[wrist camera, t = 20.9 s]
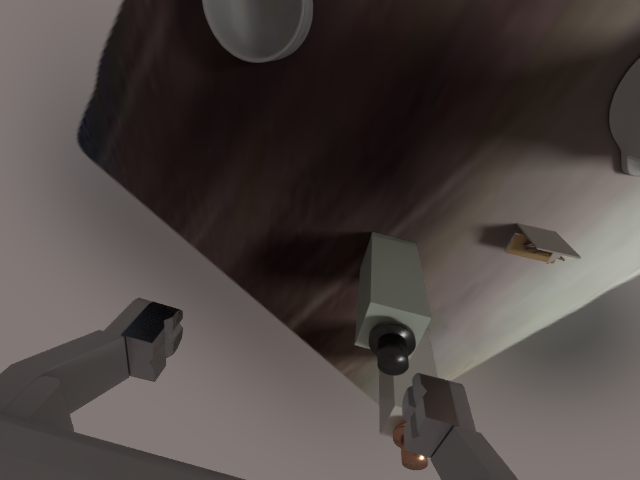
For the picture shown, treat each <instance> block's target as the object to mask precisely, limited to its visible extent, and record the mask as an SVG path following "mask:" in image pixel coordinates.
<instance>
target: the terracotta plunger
mask: <svg viewBox="0 0 640 480" xmlns="http://www.w3.org/2000/svg"><path fill="white" fill-rule="evenodd" d="M406 424H407V423H401V424H399V425H397V426H396V427H395V428H394V429H393V441H394V443H395V444H396V445H397V446H398V447H400V448H401V456H402V464H403V466H404V467H406V468H408V469H411V470H422V469H424V468H426V467H427V465H428V462H427V457H426V456H422V455H419V454H416V453H413V452H409V451H406V450H405V445H404V432H403V429H404V428H405V426H406Z"/></svg>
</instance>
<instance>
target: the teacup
mask: <svg viewBox="0 0 640 480" xmlns="http://www.w3.org/2000/svg"><path fill="white" fill-rule="evenodd" d="M202 3H203V9H204V13H205V16H206V19H207V22H208V24H209V27H210V29H211V30H212V32H213V34H214V36H215V37H216V39H217V40H218V41H219V43H220V44H221V45H222V46H223V47H224V48H225V49H226V50H227V51H228V52H229V53H231V54H232V55H234V56H235V57H237V58H239V59H241V60H243V61H247V62H254V63H262V62H268V61H274V60H279V59H282V58H285V57H287V56H289V55H290V54H292V53H293V52H294V51H296V50H297V49H298V48H299V47H300V45H301V44H302V43H303V42H304V40H305V38H306V36H307V34H308V32H309V30H310V27H311V23H312V17H313V0H202Z"/></svg>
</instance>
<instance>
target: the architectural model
mask: <svg viewBox="0 0 640 480" xmlns="http://www.w3.org/2000/svg"><path fill="white" fill-rule="evenodd" d="M517 226H518V227H519V228H520V229H521V231H522V232H523V233H524V234H525V235H523V234H518V233H514V235H513V237H512V239H511V241H510V243H509V244H508V246H507V248H506V250H505V253H509V254H513V255H518V256H522V257H526V258H531V259H535V260H540V261H544V262H547V263H546V264H549V263H554V262H555V260H556V259H559V257H561V259H560V260H563V261H565V260H564V258H563V257H562V255H565V256H570V257H574V258H579V259H580V258H581V257H580V256H579V255H578V254H577V253H576V252H575V251H574V250H573V249H572V248H571V247H570V246H569V245H568V244H567V243H566V242H565V241H564V240H563V239H562V238H561V237H560V236H559V235H558V234H557V233H556V232H555V231H550V230H546V229H541V228H536V227H532V226H527V225H523V224H518V223H517ZM530 243H532V244H533V245H527V244H530ZM524 245H527V246H524ZM529 246H534V247H529Z"/></svg>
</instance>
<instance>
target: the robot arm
mask: <svg viewBox="0 0 640 480" xmlns="http://www.w3.org/2000/svg"><path fill="white" fill-rule="evenodd" d="M609 124H610V129H611V133H612V136H613V138H614V140H615V141H616V143H617V144H618V146H619V148H620V150H621V166H622V170H623V172H624V173H626V174H628V175H632V176H640V58H639V59H638V60H637V61H636V62H635V63H634V64H633V65H632V67H631V68H630V69H629V70H628V72H627V73H626V74H625V76H624V77H623V79H622V80H621V82H620V84H619V86H618V88H617V90H616V92H615V94H614V97H613V100H612V103H611V107H610V114H609ZM182 318H183V312H182V310H179V309H176V308H173V307H170V306H166V305H163V304H159V303H156V302H152V301H148V300H145V299H141V298H137V299H135V300H134V301H133V302H132V303H131V304H130V305H129V306H128V307H127V308H126V309H125V310H124V311H123V312H122V313H121V314H120V315H119V316H118V317H117V318H116V319H115V320H114V321H113V322H112V323H111V324H110V325H109V326H108V327H107V328H106V329H105V330H104V331H101V330H98V331H95V332H93V333H90V334H88V335H85V336H83V337H80V338H77V339H75V340H72V341H70V342H68V343H65V344H62V345H60V346H57V347H55V348H52V349H50V350H47V351H45V352H42V353H39V354H37V355H34V356H32V357H29V358H27V359H24V360H22V361H19V362H16V363H14V364H11V365H10V366H9V367H8V368H7V369H6V370H4V371H3V372H2V373H1V374H0V480H245V479H241V478H238V477H234V476H230V475H227V474H223V473H219V472H216V471H212V470H209V469H205V468H202V467H198V466H194V465H191V464H187V463H184V462H180V461H176V460H173V459H169V458H166V457H162V456H158V455H154V454H151V453H147V452H144V451H140V450H136V449H133V448H130V447H126V446H122V445H119V444H115V443H112V442H108V441H104V440H100V439H97V438H94V437H90V436H86V435H83V434H79V433H76V432H74V428H73V424H72V421H71V418H70V413H72V412H74V411H75V410H77V409H79V408H80V407H82V406H84V405H85V404H87V403H89V402H90V401H92V400H93V399H95V398H97V397H98V396H100V395H101V394H103V393H105V392H106V391H108V390H109V389H111V388H113V387H114V386H116V385H117V384H119V383H121V382H122V381H124V380H126V379H127V378H129V376H133V377H137V378H141V379H145V380H149V381H153V382H155V381H156V379H157V378H158V376H159V375H160V373H161V372H162V371H163V369H164V368H165V366H166V358H167V357H169V356H171V355H173V354H174V353H175V351H176V350H177V348H178V346H179V344H180V341H181V338H182V333H183V327H182V326H181V324H180V321H181V320H182ZM412 385H413V386H410V387H408V388H407V390H406V392H405V394H404V398H403V402H402V417H403V418H404V420H405V421H406V423H407V424H406V426H405V428H404V429H403V432H404V445H405V450H406V451H409V452H413V453H416V454H419V455H422V456H426V457H429V458H431V461H432V463H433V465H434V467H435V469H436V471H437V472H438V474H439V476H440V478H441V480H518V479H517V478H516V476H515V475H514V474H513V472H512V471H511V470H510V469H509V468H508V466H507V465H506V464H505V463H504V461H503V460H502V459H501V458H500V456H499V455H498V454H497V453H496V451H495V450H494V449H493V448H492V446H491V445H490V444H489V443H488V441H487V440H486V439H485V438H484V437H483V435H482V434H481V433H479V432H476V429H475V425H474V421H473V418H472V414H471V411H470V407H469V403H468V399H467V396H466V392H465V388H464V386H463V385H462V384H459V383H455V382H452V381H448V380H444V379H441V378H437V377H433V376H429V375H425V374H421V373H416V374H415V375H414V377H413V379H412Z"/></svg>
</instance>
